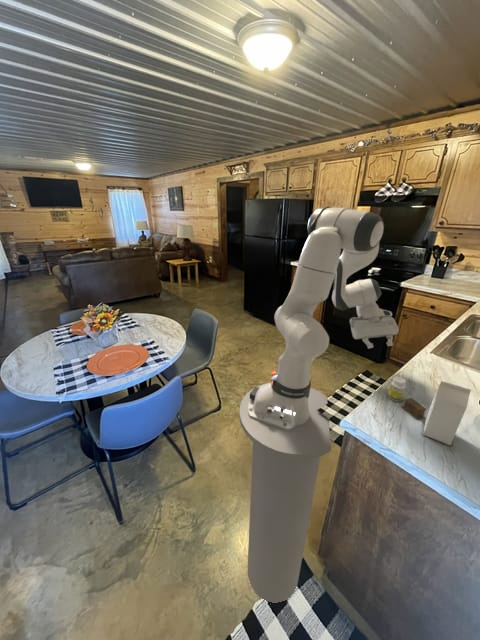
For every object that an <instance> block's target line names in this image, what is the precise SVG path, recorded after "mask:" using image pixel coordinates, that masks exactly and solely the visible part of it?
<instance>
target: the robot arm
mask: <svg viewBox="0 0 480 640" xmlns="http://www.w3.org/2000/svg"><path fill="white" fill-rule="evenodd" d="M384 229H385V222H384V220H383V218H382V217H381V216H380V215H379V214H377V213H374V212H371V211H370V210H369V211H368V210H364V209H363V210H357V209H353V208H352V209H351V208H349V207H330V206H322V207H319V208H316V209H315V210H314V212H313V213H312V214H311V215H310V217H309V218H308V222H307V235H308V237H307V239H306V241H305V242H304V245H303V248H302V250H301V253H300V256H299V259H298V262H297V266H296V269H295V274H294V277H293V281H292V284H291V287H290V290H289V292H288V295H287V297H286V298H285V300H284V302H283V304H282V305H280V306H279V307H278V308H277V309H276V311H275V313H274V317H273V319H274V323H275V326H276V329H277V331H279V333H280V335H282V337H283V339H284V341H285V342H284V343H285V348H284V351H283V353H282V354H281V355H280V356H279V358H278V364H277V371H276V370H273V371H271V375H270V376H271V379H270V382H271V383H270V382H267V383H268V384H266V383H264V384H265V385H262V384H261V385H262V386H261V387H260V388H258V387H257V386H254V387H253V388H252V389H253V390H252V389H251V390H252V392H250V401H249V404H248V415H249V417H250V418H253V419H255V420H258V421H261V422H264V423H267V424H270V425H272V426H275V427H278V428H281V429H284V430H287V431H290V430H292V429H293V428H295V427H296V426H300V425H303V424H305V423H306V422H307V421H308V420H309V418H310V412H309V406H308V397H309V395H310V389H311V388H312V385H311V376H312V371H313V364H314V362H315V360H316V358H318V357H320V356H321V355H323V354H324V353H325V352H326V351H327V349H328V348H329V345H330V336H329V334H328V332H327V330H326V329H325V327H324V326H323V325H322V324H321V323H320V322H319V321H318V320H317V319H316V318H314V313H315V311H316V309H317V307H318V306H319V304H321V303H322V302H324V301H326V300H327V299H328V298H329V295H330V291H331V289H332V294H331V301H332V304H333V306H334V308H336V309H338V310H340V311H346V310H349V309H351V308H356V315H357V317H351V318H350V319H349V325H350V331H351V335H352V338H353V339H354V340H362V342H363V343H364V344H365V345H366V347H367V349H373V348H374V344H373V342H371V341H370V340H369V339H373V338H374V339H375V338H383V337H386V339H387V342H386V346H387V347H392V346H394V342H393V338H394V336H396V335H398V334H399V331H400V329H399V326H398V324H397V321H396V320H395V318H394V317H392V316H393V312H392V311H390V310H387V309H383V308H380V307H379V305H378V303H376V302H377V301H378V300H379V299H380V297H381V296H382V290H381V288H380V285H379V282H378V281H377V280H375V279H373V278H366V279H358V280H356V281H354V282H352V283H349V284H347V279H349V277H350V276H352V275H353V274H354V273H357V272H359V271H360V270H362V269H364V268H366V267H368V266H369V265H370V264H372V263H373V262H374V261H375V260H376V258H377V257H378V255H379V254H378V253H379V251H380V250H379V249H380V242H381V240H382V237H383V234H384ZM332 285H333V287H332Z"/></svg>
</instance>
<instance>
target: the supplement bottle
mask: <svg viewBox="0 0 480 640" xmlns="http://www.w3.org/2000/svg"><path fill="white" fill-rule="evenodd" d="M406 383H407V380H406V379H405V378H403V377H401V376H394V377H393V378H392V381H391V383H390V387H389V390H388V393H387V396H388V398H389V399H390V400H393V401H395V402H401V401H402V400H403V396H404V394H405V390H406Z"/></svg>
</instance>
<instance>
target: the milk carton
mask: <svg viewBox="0 0 480 640" xmlns="http://www.w3.org/2000/svg"><path fill="white" fill-rule="evenodd" d="M471 391H472V389H470V388H467V387H464V386H460V385H458V384H453V383H451V382H447V381H443V380H441V381H440V383H439V384H438V386H437V387H436V391H435V392H434V396H433V398H432V402H431V404H430V407H429V410H428V412H427V415H426V418H425V421H424V427H423V435H424V436H426V437H428V438H431V439H433V440H436V441H438V442H441V443H443V444H445V445H448V446H451V445H452V443H453V440H454V438H455V436H456V433H457V431H458V428H459V427H460V424H461V422H462V419H463V417H464V415H465V412H466V410H467V408H468V403H469V398H470V394H471Z"/></svg>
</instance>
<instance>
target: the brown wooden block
mask: <svg viewBox="0 0 480 640" xmlns="http://www.w3.org/2000/svg"><path fill="white" fill-rule="evenodd" d="M402 409H404V410H405V411H406V412H407V413H409V415H411V416H412V418H414V419H415V420H418V419H423V418H424V416H425V413H426V410H427V408H426V407H425V406H424V405H422V404H421V403H419V402H418V401H417V400H416V399H414V398H413V397H409V398H405V399H404V402H403V406H402Z"/></svg>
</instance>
